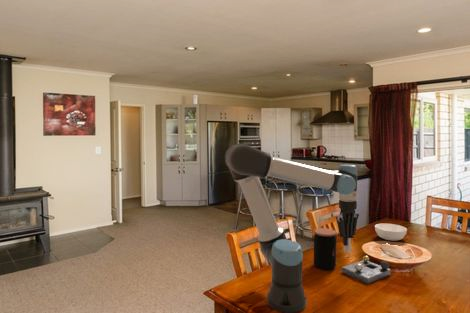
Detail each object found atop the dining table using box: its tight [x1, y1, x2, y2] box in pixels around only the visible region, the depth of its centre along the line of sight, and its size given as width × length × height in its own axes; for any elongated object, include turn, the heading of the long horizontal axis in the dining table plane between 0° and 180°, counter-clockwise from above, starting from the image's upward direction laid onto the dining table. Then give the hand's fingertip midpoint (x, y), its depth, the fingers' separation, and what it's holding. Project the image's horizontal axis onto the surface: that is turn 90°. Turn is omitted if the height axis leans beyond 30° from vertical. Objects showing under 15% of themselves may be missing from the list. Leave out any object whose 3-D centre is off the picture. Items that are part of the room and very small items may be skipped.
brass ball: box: [362, 255, 370, 262], centre depth 162 cm, size 3×3×3 cm
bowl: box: [374, 222, 408, 242], centre depth 205 cm, size 18×18×7 cm
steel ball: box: [355, 264, 363, 271], centre depth 151 cm, size 3×3×3 cm
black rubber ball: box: [379, 260, 390, 269], centre depth 153 cm, size 4×4×4 cm
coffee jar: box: [313, 227, 338, 272], centre depth 161 cm, size 11×11×18 cm
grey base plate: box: [341, 259, 392, 285], centre depth 154 cm, size 17×14×2 cm
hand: (347, 251), depth 146 cm, fingers closed
